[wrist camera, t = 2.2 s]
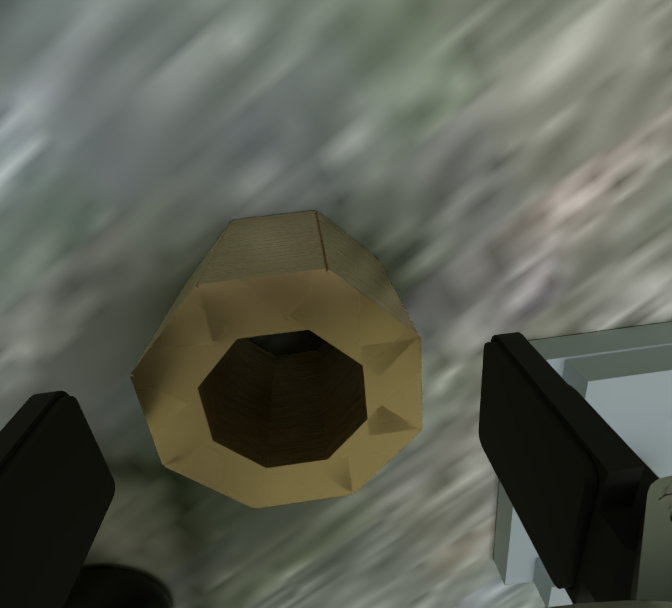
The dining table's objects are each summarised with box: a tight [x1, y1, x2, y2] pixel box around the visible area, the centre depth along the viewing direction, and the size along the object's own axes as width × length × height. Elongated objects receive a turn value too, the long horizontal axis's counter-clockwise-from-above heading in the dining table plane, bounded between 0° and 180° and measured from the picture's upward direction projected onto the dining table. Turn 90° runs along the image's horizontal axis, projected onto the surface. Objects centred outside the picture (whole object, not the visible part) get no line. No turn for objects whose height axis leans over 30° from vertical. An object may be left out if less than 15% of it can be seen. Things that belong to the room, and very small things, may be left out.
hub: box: [130, 210, 422, 509], centre depth 14 cm, size 7×7×6 cm
